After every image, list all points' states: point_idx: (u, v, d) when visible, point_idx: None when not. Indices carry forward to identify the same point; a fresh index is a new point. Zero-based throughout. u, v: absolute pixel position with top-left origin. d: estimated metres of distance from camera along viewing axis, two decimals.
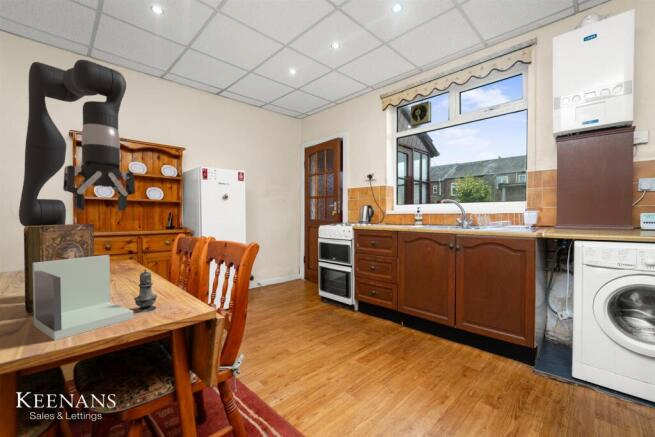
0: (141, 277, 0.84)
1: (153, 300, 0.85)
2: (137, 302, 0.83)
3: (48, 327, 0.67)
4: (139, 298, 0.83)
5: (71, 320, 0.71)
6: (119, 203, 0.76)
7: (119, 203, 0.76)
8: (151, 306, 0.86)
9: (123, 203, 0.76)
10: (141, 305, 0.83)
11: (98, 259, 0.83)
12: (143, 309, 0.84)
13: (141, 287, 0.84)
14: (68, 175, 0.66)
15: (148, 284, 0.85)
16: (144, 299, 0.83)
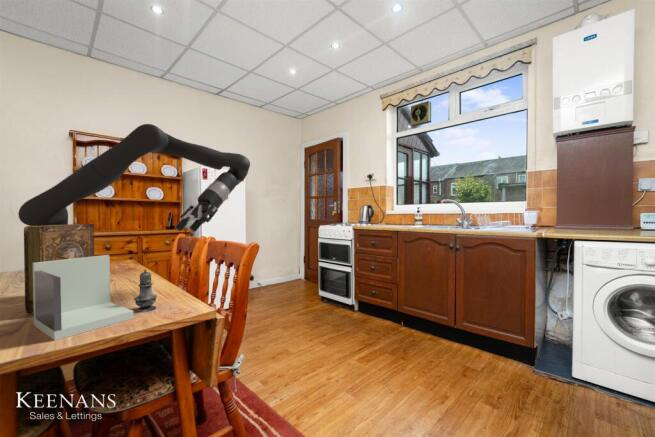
0: (141, 277, 0.84)
1: (153, 300, 0.85)
2: (137, 302, 0.83)
3: (48, 327, 0.67)
4: (139, 298, 0.83)
5: (71, 320, 0.71)
6: (181, 224, 0.98)
7: (181, 225, 0.98)
8: (151, 306, 0.86)
9: None
10: (141, 305, 0.83)
11: (98, 259, 0.83)
12: (143, 309, 0.84)
13: (141, 287, 0.84)
14: (214, 214, 0.96)
15: (148, 284, 0.85)
16: (144, 299, 0.83)
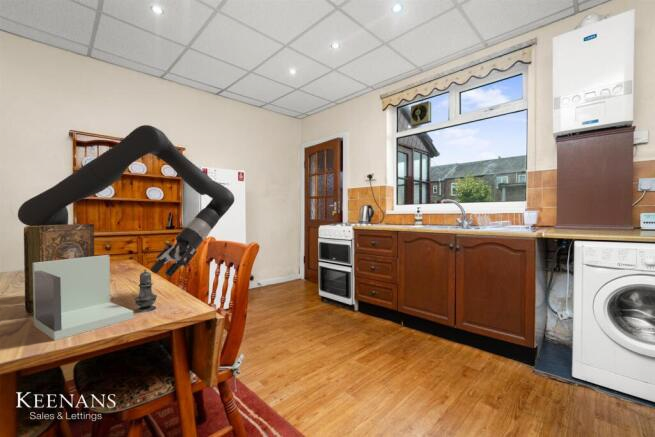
0: (141, 277, 0.84)
1: (153, 300, 0.85)
2: (137, 302, 0.83)
3: (48, 327, 0.67)
4: (139, 298, 0.83)
5: (71, 320, 0.71)
6: (157, 266, 0.92)
7: (157, 267, 0.92)
8: (151, 306, 0.86)
9: None
10: (141, 305, 0.83)
11: (98, 259, 0.83)
12: (143, 309, 0.84)
13: (141, 287, 0.84)
14: (192, 256, 0.91)
15: (148, 284, 0.85)
16: (144, 299, 0.83)
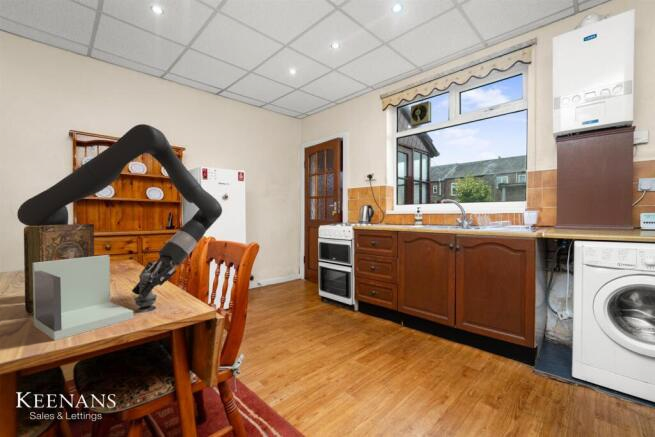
0: (141, 277, 0.84)
1: (153, 300, 0.85)
2: (137, 302, 0.83)
3: (48, 327, 0.67)
4: (139, 298, 0.83)
5: (71, 320, 0.71)
6: (139, 287, 0.86)
7: None
8: (151, 306, 0.86)
9: None
10: (141, 305, 0.83)
11: (98, 259, 0.83)
12: (143, 309, 0.84)
13: (141, 287, 0.84)
14: (170, 276, 0.86)
15: None
16: (144, 299, 0.83)
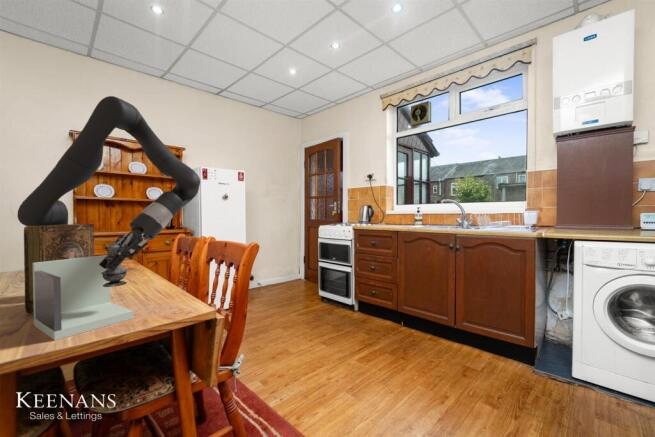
0: (108, 249, 0.77)
1: (122, 274, 0.78)
2: (104, 276, 0.76)
3: (48, 327, 0.67)
4: (106, 272, 0.76)
5: (71, 320, 0.71)
6: None
7: None
8: (121, 281, 0.80)
9: None
10: (109, 279, 0.76)
11: (98, 259, 0.83)
12: (111, 284, 0.77)
13: (109, 260, 0.77)
14: (140, 249, 0.79)
15: None
16: (112, 273, 0.76)
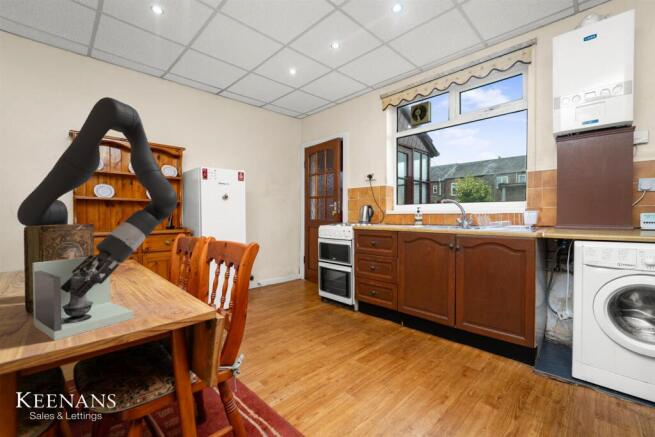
0: (72, 281, 0.71)
1: (86, 308, 0.72)
2: (65, 310, 0.70)
3: (48, 327, 0.67)
4: (68, 306, 0.70)
5: None
6: (70, 284, 0.74)
7: (70, 284, 0.74)
8: (85, 315, 0.73)
9: None
10: (70, 314, 0.70)
11: None
12: (73, 319, 0.70)
13: None
14: None
15: None
16: (74, 307, 0.70)
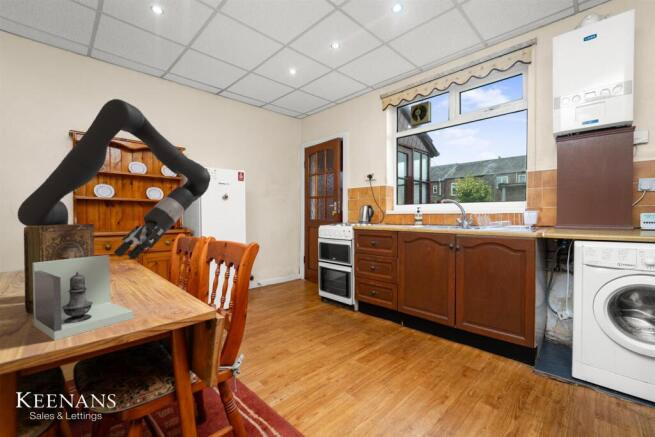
0: (71, 281, 0.71)
1: (86, 308, 0.72)
2: (65, 311, 0.70)
3: (48, 327, 0.67)
4: (68, 306, 0.70)
5: None
6: (121, 249, 0.83)
7: (122, 249, 0.84)
8: (85, 315, 0.73)
9: None
10: (70, 314, 0.70)
11: (98, 259, 0.83)
12: (73, 319, 0.70)
13: (71, 293, 0.71)
14: (159, 238, 0.82)
15: (80, 289, 0.71)
16: (74, 307, 0.70)
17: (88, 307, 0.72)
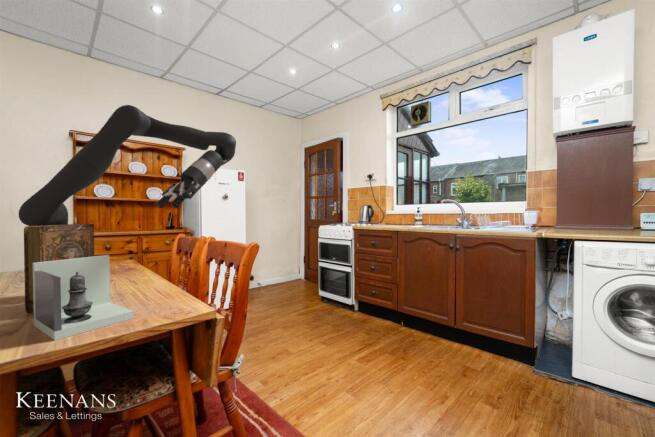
0: (71, 281, 0.71)
1: (86, 308, 0.72)
2: (65, 311, 0.70)
3: (48, 327, 0.67)
4: (68, 306, 0.70)
5: None
6: (162, 202, 0.94)
7: (163, 202, 0.94)
8: (85, 315, 0.73)
9: None
10: (70, 314, 0.70)
11: (98, 259, 0.83)
12: (73, 319, 0.70)
13: (71, 293, 0.70)
14: (196, 191, 0.93)
15: (80, 289, 0.71)
16: (74, 307, 0.70)
17: (88, 307, 0.72)
